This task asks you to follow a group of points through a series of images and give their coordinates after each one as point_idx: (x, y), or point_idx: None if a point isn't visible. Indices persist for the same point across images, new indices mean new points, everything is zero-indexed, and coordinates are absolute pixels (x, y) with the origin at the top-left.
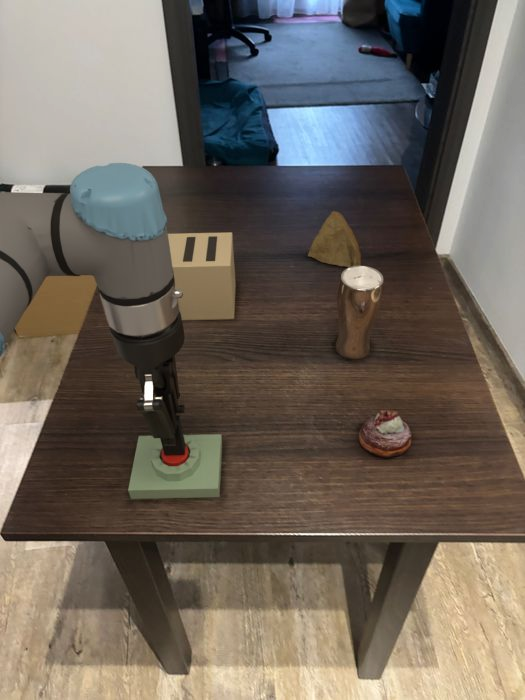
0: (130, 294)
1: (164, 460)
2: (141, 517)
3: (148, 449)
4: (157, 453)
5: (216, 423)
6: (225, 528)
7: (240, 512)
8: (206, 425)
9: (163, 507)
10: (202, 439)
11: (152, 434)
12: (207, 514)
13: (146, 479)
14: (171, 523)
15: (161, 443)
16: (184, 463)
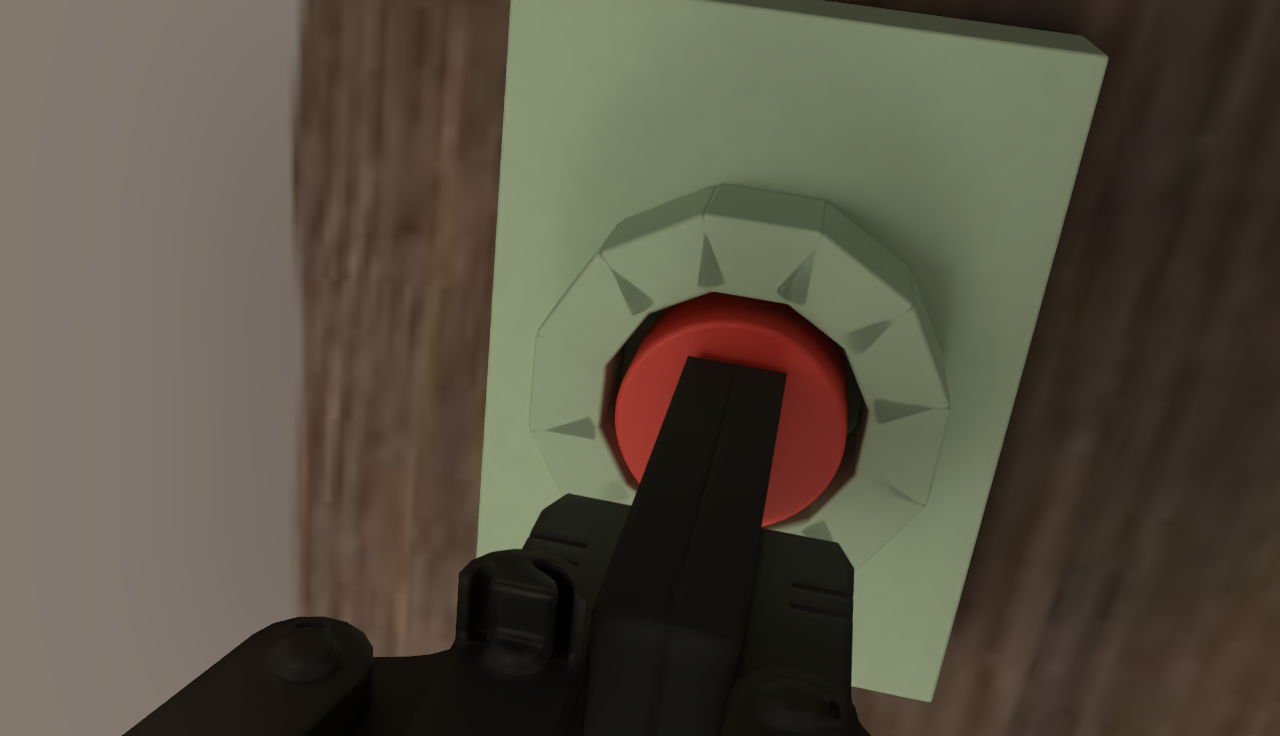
0: None
1: (658, 338)
2: (395, 47)
3: (914, 151)
4: (756, 277)
5: (1130, 627)
6: (307, 545)
7: (400, 634)
8: (1134, 560)
9: (462, 204)
10: (912, 577)
11: (176, 701)
12: (396, 466)
13: (599, 131)
14: (345, 251)
15: (863, 318)
16: (614, 481)
